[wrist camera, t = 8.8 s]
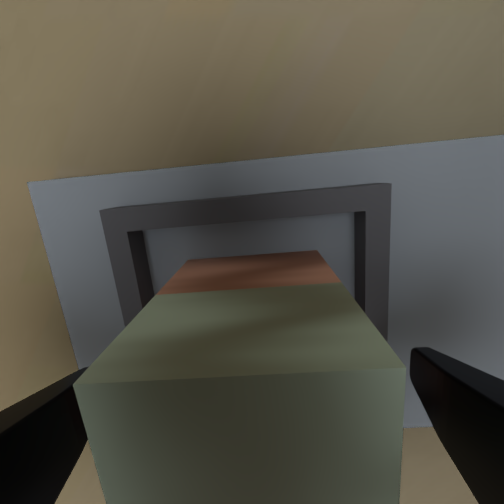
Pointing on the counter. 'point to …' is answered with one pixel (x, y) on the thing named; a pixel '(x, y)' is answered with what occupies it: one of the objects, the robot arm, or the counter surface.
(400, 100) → the counter surface
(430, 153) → the nest board
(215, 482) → the brick stack
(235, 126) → the counter surface
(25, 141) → the counter surface
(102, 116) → the counter surface
